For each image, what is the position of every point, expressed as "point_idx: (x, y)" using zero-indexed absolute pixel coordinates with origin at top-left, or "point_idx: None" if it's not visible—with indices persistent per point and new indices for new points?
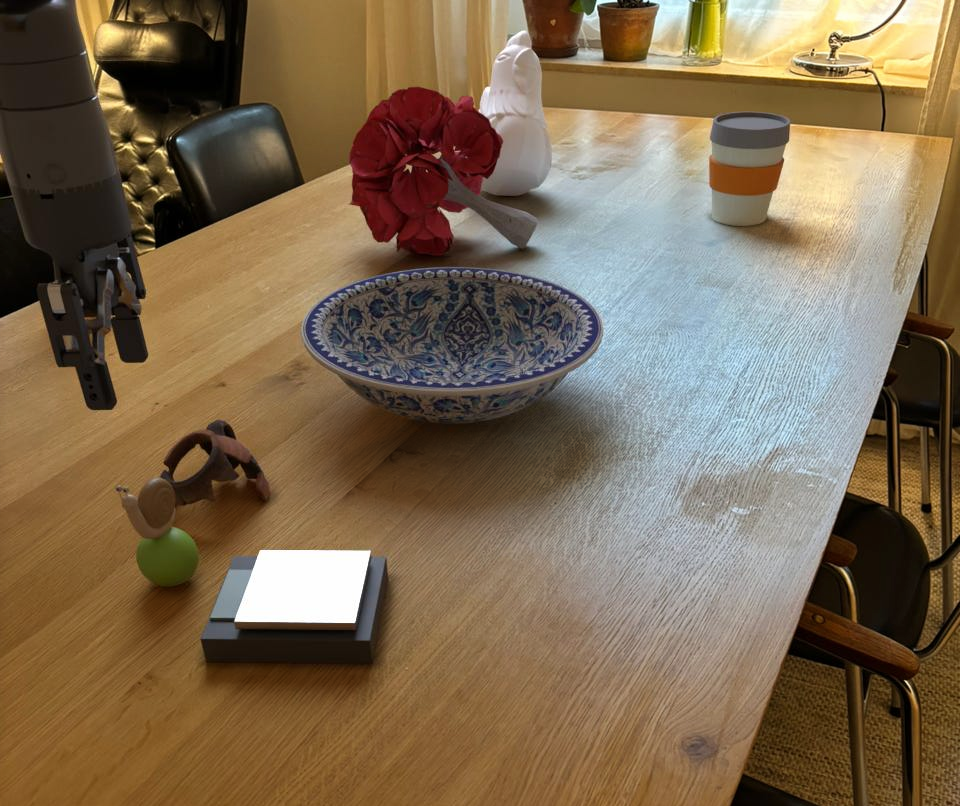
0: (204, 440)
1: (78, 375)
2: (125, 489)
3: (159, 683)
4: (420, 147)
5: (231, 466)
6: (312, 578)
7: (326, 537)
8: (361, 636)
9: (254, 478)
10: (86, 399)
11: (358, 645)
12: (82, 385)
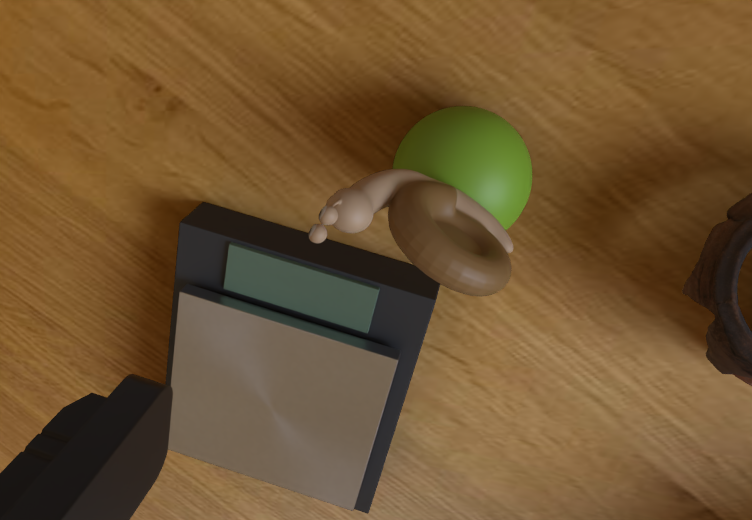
0: None
1: (33, 485)
2: (309, 235)
3: (155, 123)
4: None
5: (740, 375)
6: (286, 421)
7: (536, 429)
8: None
9: None
10: (54, 417)
11: None
12: (8, 467)
